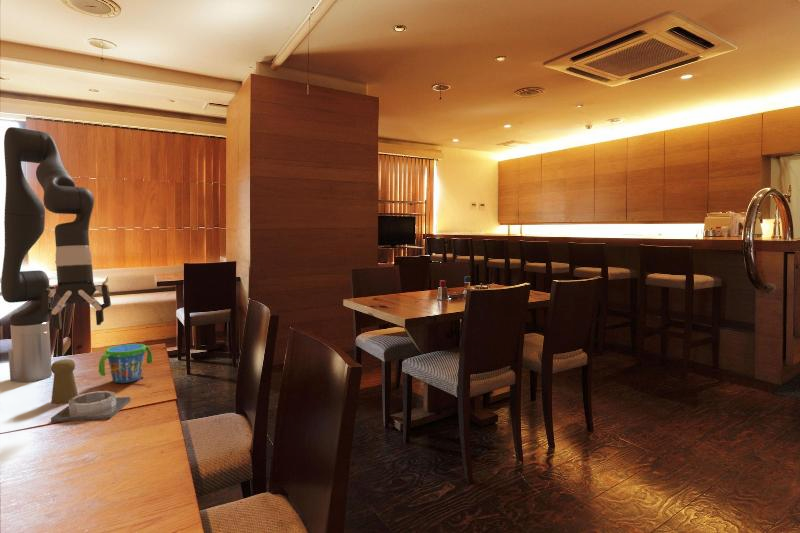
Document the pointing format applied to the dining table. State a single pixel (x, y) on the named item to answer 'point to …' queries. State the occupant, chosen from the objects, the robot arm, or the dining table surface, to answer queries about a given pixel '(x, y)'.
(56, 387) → the cork
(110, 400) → the hub
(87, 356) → the dining table surface
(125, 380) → the snack cup
